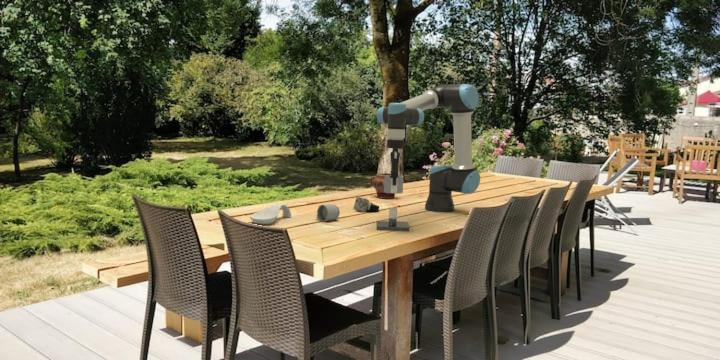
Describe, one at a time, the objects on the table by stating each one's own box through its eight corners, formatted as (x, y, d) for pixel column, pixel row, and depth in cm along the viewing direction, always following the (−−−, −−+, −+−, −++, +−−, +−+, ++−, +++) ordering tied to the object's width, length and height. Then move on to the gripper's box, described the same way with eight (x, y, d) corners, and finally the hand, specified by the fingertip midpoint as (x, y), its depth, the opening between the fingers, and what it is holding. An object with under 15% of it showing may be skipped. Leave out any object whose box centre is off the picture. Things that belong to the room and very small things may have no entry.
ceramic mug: (340, 220, 259) (341, 204, 259) (327, 222, 254) (327, 205, 253) (325, 217, 267) (325, 201, 266) (312, 219, 261) (312, 202, 260)
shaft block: (407, 225, 254) (408, 206, 253) (409, 231, 242) (410, 211, 241) (376, 224, 254) (377, 205, 253) (376, 229, 242) (377, 210, 241)
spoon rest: (266, 227, 241) (266, 211, 240) (244, 224, 246) (244, 208, 245) (297, 218, 262) (297, 203, 261) (276, 216, 267) (276, 201, 266)
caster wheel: (378, 215, 289) (373, 215, 279) (358, 208, 292) (352, 209, 282) (382, 202, 288) (377, 202, 279) (362, 196, 291) (356, 196, 282)
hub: (402, 191, 250) (402, 175, 249) (402, 193, 242) (403, 177, 241) (383, 190, 250) (384, 174, 249) (384, 192, 242) (384, 176, 241)
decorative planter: (363, 196, 329) (363, 173, 328) (373, 194, 340) (374, 171, 338) (393, 200, 319) (394, 176, 317) (403, 198, 330) (404, 174, 328)
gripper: (386, 137, 254) (384, 187, 256) (387, 140, 233) (385, 194, 236) (403, 138, 253) (401, 188, 256) (405, 140, 233) (403, 195, 236)
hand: (393, 191), depth 246 cm, fingers closed on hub, 8 cm apart
